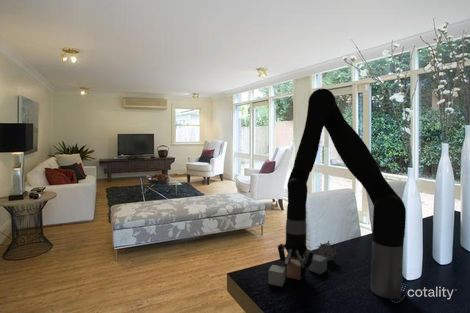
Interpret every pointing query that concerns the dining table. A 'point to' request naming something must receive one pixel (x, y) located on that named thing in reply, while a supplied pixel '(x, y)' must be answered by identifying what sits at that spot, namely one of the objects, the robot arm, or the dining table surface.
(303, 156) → the robot arm
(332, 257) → the small potted plant
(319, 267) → the blue-grey cube
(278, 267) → the cream cube
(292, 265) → the terracotta cube
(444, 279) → the dining table surface
